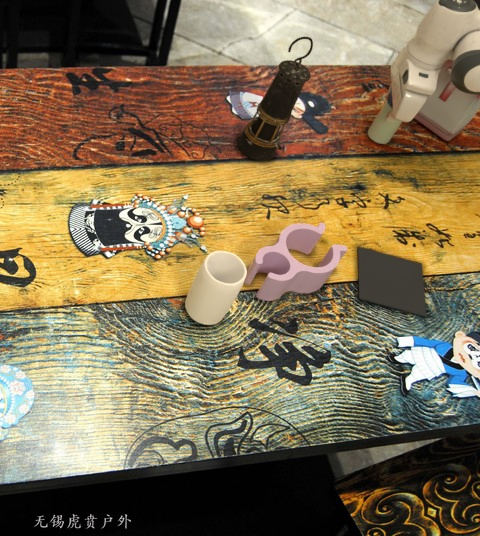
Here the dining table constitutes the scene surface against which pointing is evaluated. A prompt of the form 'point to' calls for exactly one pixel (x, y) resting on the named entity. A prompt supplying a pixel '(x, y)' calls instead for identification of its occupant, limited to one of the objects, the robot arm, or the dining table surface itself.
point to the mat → (391, 281)
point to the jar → (383, 126)
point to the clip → (293, 263)
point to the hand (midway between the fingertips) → (388, 110)
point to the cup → (215, 287)
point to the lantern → (275, 109)
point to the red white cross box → (447, 107)
